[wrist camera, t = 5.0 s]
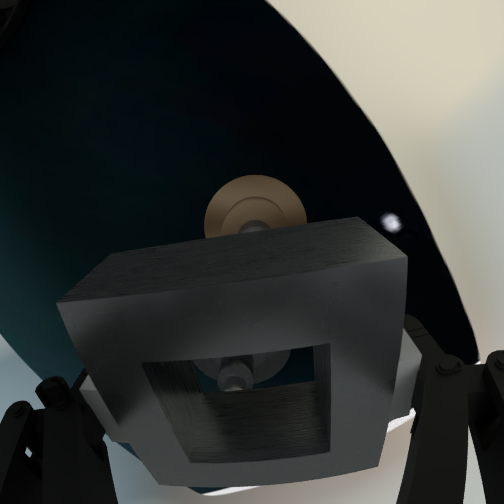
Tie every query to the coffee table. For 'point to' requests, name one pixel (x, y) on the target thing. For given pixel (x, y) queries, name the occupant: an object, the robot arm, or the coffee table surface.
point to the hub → (243, 369)
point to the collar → (247, 350)
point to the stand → (252, 207)
